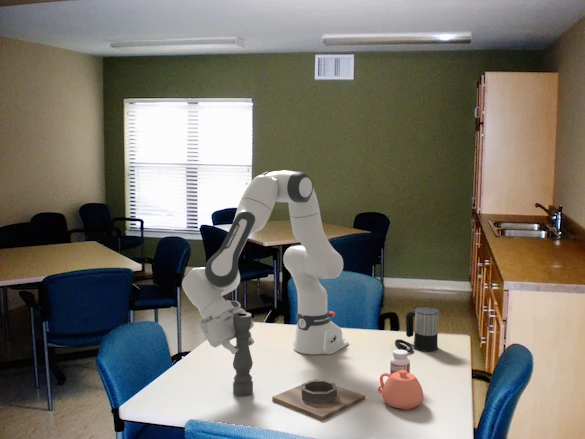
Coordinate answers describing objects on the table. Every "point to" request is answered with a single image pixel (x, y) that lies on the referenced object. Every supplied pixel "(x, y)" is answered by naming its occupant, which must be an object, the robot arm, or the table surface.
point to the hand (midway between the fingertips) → (244, 348)
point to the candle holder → (242, 355)
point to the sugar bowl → (401, 390)
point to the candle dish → (318, 408)
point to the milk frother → (421, 330)
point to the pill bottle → (399, 361)
